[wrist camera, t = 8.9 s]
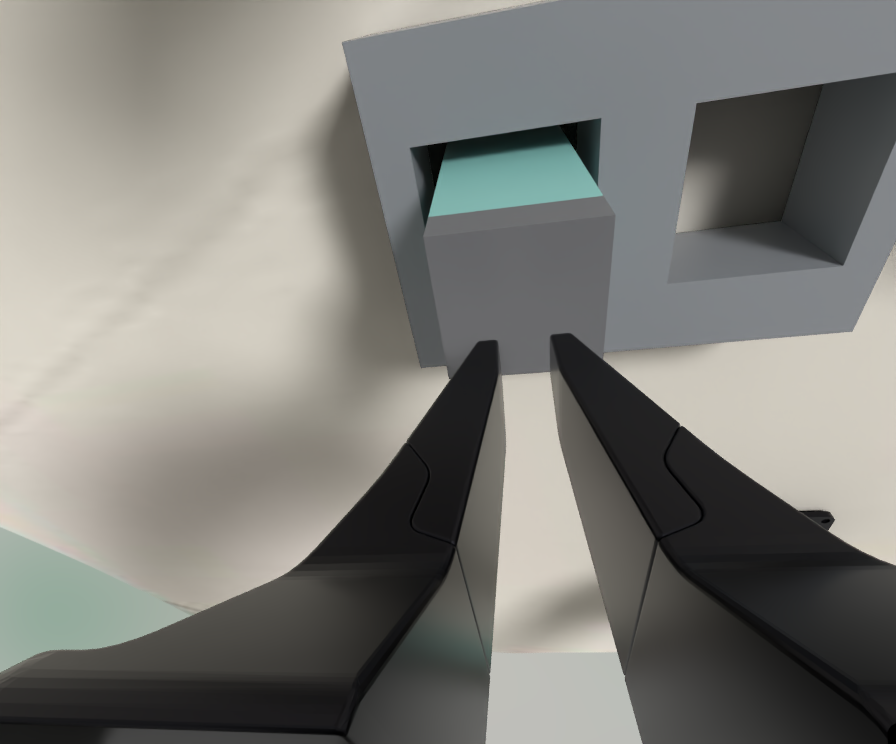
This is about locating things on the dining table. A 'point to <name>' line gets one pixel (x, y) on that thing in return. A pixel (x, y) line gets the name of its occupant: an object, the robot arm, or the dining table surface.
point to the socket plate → (655, 149)
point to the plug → (518, 248)
